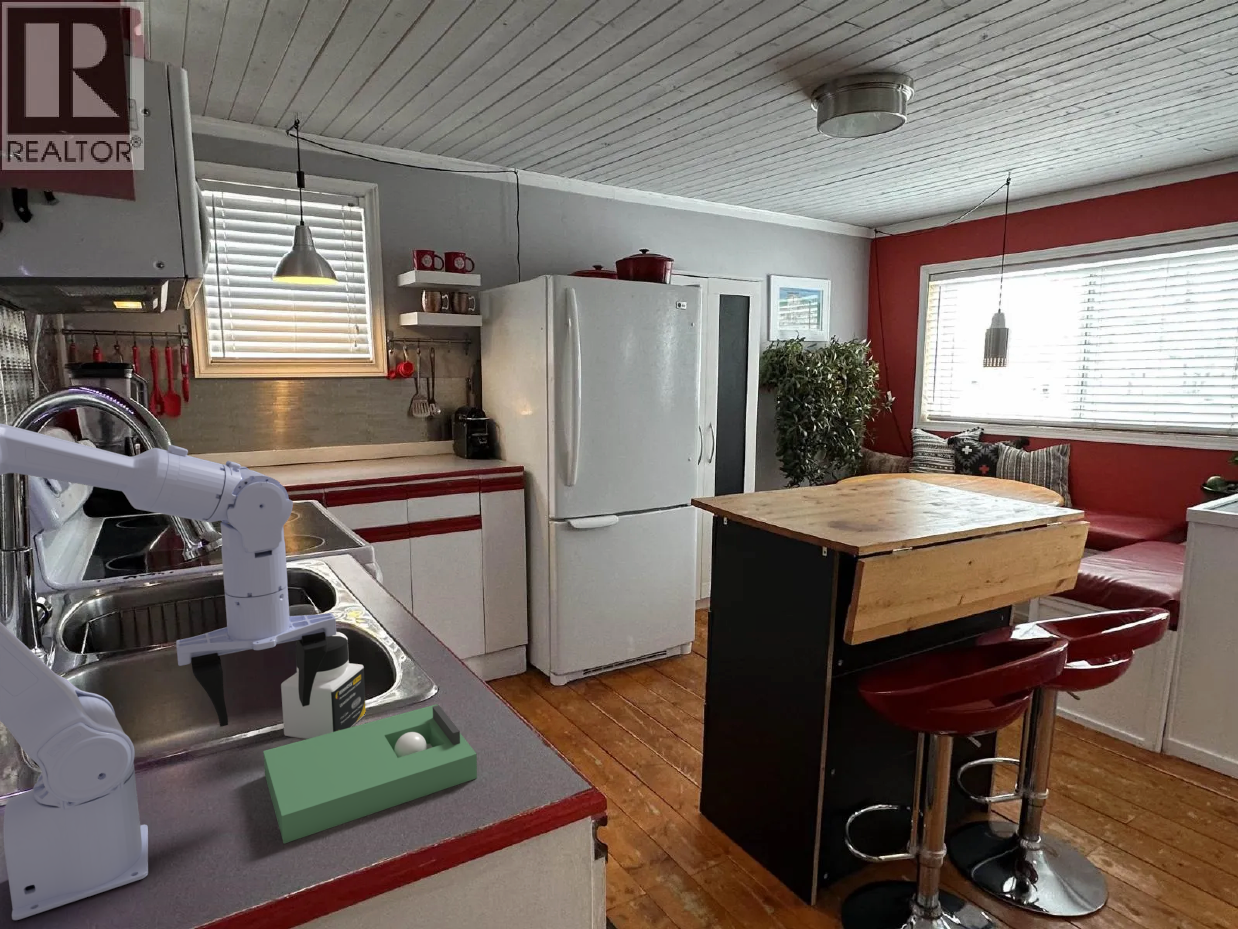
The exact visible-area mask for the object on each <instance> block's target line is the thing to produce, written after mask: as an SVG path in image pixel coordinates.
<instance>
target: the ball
mask: <svg viewBox="0 0 1238 929" xmlns="http://www.w3.org/2000/svg"><path fill="white" fill-rule="evenodd" d="M426 749H427V744H426V741H425V739H424V737H423V736H422V735H420V734H419V733H416V732H408V733H405V734H404V735H402V736H401V737H400V738H399V739H398V740H397V742H396V744H395V749H394V752H395V754H396V756H397V757H398V758H400V757H403V756H406V755H409V754H413V753H416V752H419V751H423V750H426Z"/></svg>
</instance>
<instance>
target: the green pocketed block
mask: <svg viewBox="0 0 1238 929" xmlns="http://www.w3.org/2000/svg"><path fill="white" fill-rule="evenodd" d="M408 732H416V733H419V734H420V735H422V736H423V737H424V739H425V741H426V744H427V749H426V750H423V751H419V752H416V753H413V754H409V755H406V756H403V757H400V758H398V757H397V756H396V754H395V752H394V749H395V744H396V742H397V740H398V739H399V738H400V737H401V736H402V735H404V734H405V733H408ZM262 754H263V764H264V767H263V768H264V778H265V781H266V784H267V787H268V790H269V791H268V792H269V795H270V798H271V803H272V806H273V810H274V813H275V817H276V821H277V824H278V828H279V831H280V835H281V838H282V843H283V844H288V843H290V842H292V841H293V842H294V841H296V840H299V839H301V838H305V837H308V836H310V835H315V834H317V833H319V832H322V831H325V830H329V829H332V828H334V827H335V828H336V827H337V826H340V825H343V824H346V823H349V822H351V821H354V820H358V819H360V818H364V817H367V816H369V815H372V814H375V813H378V812H381V811H385V810H387V809H390V808H393V807H396V806H400V805H402V804H404V803H408V802H411V801H413V800H417V799H420V798H423V797H426V796H429V795H431V794H434V793H438V792H441V791H443V790H447V789H449V788H452V787H455V786H457V785H460V784H463V783H466V782H469V781H472V780H476V779H477V778H478V765H477V764H478V762H477V760H478V759H477V753H476V751H475V750H474V748H473V747H472V746H471V744H469V742H468V741H467V740H466V738H465V737H464V736H463V735H462V733H461V732H460V729H459V728H458V727H457V725H455V722H453V721H452V719H451V718H450V716H448V714H447V713H446V712H445V711H444V709H443V708H442V707H441V706H440V705H439V704H432V705H430V706H425V707H422V708H421V707H420V708H417V709H414V710H411V711H410V710H409V711H406V712H403V713H399V714H395V715H392V716H388V717H384V718H381V719H377V720H373V721H369V722H365V723H362V724H358V725H353V726H352V727H350V728H347V729H343V730H339V731H336V732H332V733H328V734H324V735H321V736H317V737H313V738H310V739H303V740H299V741H296V742H291V743H287V744H284V745H280V746H277V747H274V748H270V749H266V750H263V753H262Z"/></svg>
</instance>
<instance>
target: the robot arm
mask: <svg viewBox="0 0 1238 929" xmlns="http://www.w3.org/2000/svg"><path fill="white" fill-rule="evenodd" d="M188 453H189V450H188V449H187V448H184V447H180V446H177V445H173V444H170V445H169V446H168V448H167V450H166V449H162V448H159V447H154V448H151V449H147V450H146V451H144V452H141V453H139V454H137V455H133V456H130V455H129V456H128V455H124V454H121V453H116V452H113V451H109V450H105V449H101V448H97V447H93V446H90V445H86V444H83V443H78V442H74V441H69V440H67V439H63V438H59V437H57V436H55V437H54V436H52V435H49V434H43V433H40V432H36V431H32V430H28V429H24V428H20V427H16V426H13V425H8V424H4V423H0V476H2V475H6V474H17V475H23V476H31V477H36V478H41V479H49V480H55V481H59V482H65V483H66V482H67V483H71V484H78V485H82V486H83V485H84V486H90V487H95V488H101V489H108V490H113V491H118V492H122V493H123V494H124V495H125V497H126V499H127V500H128V502H129V503H130V505H131V507H133V508H134V509H136V510H140V511H146V512H151V513H157V514H161V515H162V514H163V515H167V516H172V517H177V518H183V519H188V520H194V521H200V522H204V523H214V522H218V521H221V522H220V532H221V549H220V551H221V561H222V563H221V564H222V574H223V586H224V588H223V589H224V599H225V600H224V602H225V612H226V613H225V614H226V627H223V628H219V629H215V630H213V631H209V632H205V633H203V634H200V635H195V636H191V637H186V638H183V639H178V640H175V643H176V653H177V654H176V655H177V664H178V666H179V667H180V666H185V665H190V664H191V669H192V670H191V671H192V674H193V676H194V677H195V679H196V681H197V682H198V683H199V684H200V685H201V686H202V688H203V689H204V691H205V693H206V695H208V697H209V699H210V701H211V703H212V705H213V707H214V709H215V712H216V714H217V717H218V722H219V727H221V728H222V727H225V726H229V718H228V717H229V716H228V712H227V708H226V701H225V694H224V692H225V691H224V674H223V673H224V672H223V671H224V670H223V667H222V660H221V656H223V655H228V654H234V653H239V652H244V651H248V650H254V651H261V650H266V649H270V648H274V647H276V645H279V644H285V643H290V642H294V641H295V646H297V655H298V666H299V681H298V690H299V699H300V701H301V704H302V706H303V707H304V706H308V705H310V696H311V691H312V686H313V683H314V679H315V676H316V673H317V671H318V668H319V666H320V664H321V662H322V660H323V658H324V656H325V654H326V652H327V648H328V642H327V640H326V637H325V636H333V635H336V632H337V620H336V617H335V615H334V614H333V613H332V612H327V613H325V612H324V613H319V614H305V615H303V614H302V615H290V607H289V606H290V604H289V590H288V589H289V587H288V571H287V570H288V569H287V554H286V553H287V552H286V541H285V530H284V529H285V528H284V525H285V524H286V523H287V522H288V520H289V518H290V517H291V515H292V511H293V505H294V501H293V500H291V499H289V498H290V496H289V494H288V492H287V490H286V487H285V486H284V485H283V484H281V482H280V481H278V480H277V479H275V478H273V477H271V476H268V475H266V474H263V473H261V472H258V471H255V470H253V469H249V468H248V467H247V466H242V465H241V464H240V463H238V462H235V461H231V460H227V461H226V462H225V464H224V463H223V464H222V463H219V462H216V461H215V462H214V461H211V460H207V459H202V458H198V457H195V456H191V455H188ZM0 723H2V724H3V725H4V726H5V727H6V728H7V730H8V731H9V733H10V734H11V735H12V737H13V738H14V739H15V741H16V742H17V744H18V745H19V747H20V748H21V749H22V751H23V752H24V753H25V754H26V756H28V758H30V759H31V760H32V761H33V762H35V763H36V764H37V766H38V767H39V769H40V771H41V773H39V774H40V775H39V776H38V778H37V782H35V784H34V786H33V787H32V789H30V790H28V791H26V792H25V791H24V792H23V793H21V794H18V795H15V796H13V797H10V798H9V799H7V801H6V803H5V809H4V815H3V816H4V817H3V847H4V848H3V849H4V857H5V865H6V871H7V872H6V873H7V878H8V885H9V886H8V887H9V892H10V893H9V894H10V900H11V906H12V907H11V908H12V911H11V920H13V921H18V920H22V919H25V918H28V917H31V916H34V915H36V914H40V913H43V912H46V911H49V910H52V909H56V908H58V907H62V906H64V905H68V904H71V903H74V902H76V901H79V900H82V899H85V898H87V897H88V898H89V897H91V896H94V895H97V894H100V893H103V892H107V891H110V890H112V889H115V888H118V887H122V886H124V885H127V884H131V883H134V882H137V881H139V880H142V879H145V878H146V877H147V876H148V875H149V831H148V830H149V829H148V828H149V827H148V825H147V824H141V820H140V819H141V818H140V811H139V800H138V790H137V783H136V782H137V781H136V771H135V762H134V760H135V747H134V743H133V742H132V740H131V738H130V736H128V735H127V734H126V733H125V731H124V730H123V727H122V725H121V724H120V722H119V720H118V718H117V717H116V712H115V709H114V706H113V705H112V703H111V702H110V701H109V700H108V699H107V698H105V697H104V696H102V695H100V694H97V693H93V692H88V691H84V690H81V689H80V688H78V687H77V686H76V685H74V684H73V683H72V682H70V681H69V679H67V678H66V677H63V676H61V675H59V674H57V673H56V672H54V671H53V670H52V669H51V668H50V667H49V665H47V664H46V663H45V662H44V661H43V660H42V659H41V658H40V657H38V656H37V655H36V654H35V653H34V652H33V651H32V650H31V649H30V648H29V647H28V646H27V645H25V643H24V642H22V640H20V639H19V638H18V637H17V636H16V635H15V634H14V633H13V632H12V631H11V630H10V629H9V628H7V627H6V626H5V625H4V624H3V623H2V622H1V621H0Z"/></svg>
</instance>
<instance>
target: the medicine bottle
mask: <svg viewBox="0 0 1238 929" xmlns="http://www.w3.org/2000/svg"><path fill="white" fill-rule="evenodd" d="M325 637H326V640H327V642H328V648H327V652H326V654H325V656H324V658H323V660H322V662H321V664H320V666H319V668H318V671H317V673H316V676H315V679H314V683H313V686H312V691H311V696H310V705H308V706H304V707H303V706H302V704H301V701H300V699H299V690H298V681H299V666H298V655H297V646H296V645H294V646H295V647H294V648H295V661H296V663H295V664H296V672H295V673H294V674H293V675H291V676H290V677H288V678H287V679H285V680H284V681H283V682H282V683H281V684H280V689H281V702H282V704H281V705H282V719H283V734H284V736H286V737H289V738H290V737H291V738H298V739H303V740H306V739H310V738H313V737H317V736H321V735H324V734H328V733H332V732H336V731H339V730H343V729H347V728H350V727H354V726H356V724H358V722H359V721H360V720H361V719H362V718H364V717H365V715H366V714H365V712H366V713H367V710H366V691H365V689H366V687H365V669H364V668H365V667H364V665H363V664H358V663H350V661H349V644H348V643H349V640H348V637H347V636H346V634H344V633H342V632H340V631H336V635H333V636H325ZM364 714H365V715H364Z"/></svg>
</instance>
